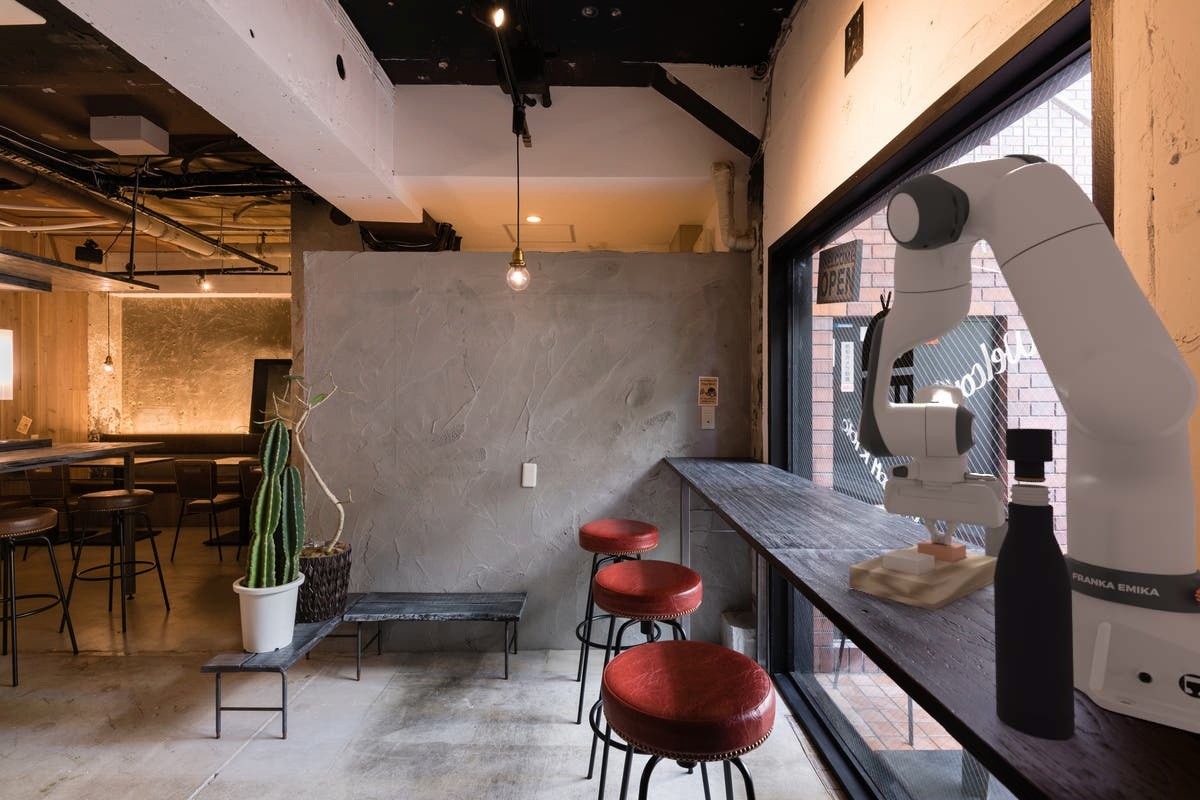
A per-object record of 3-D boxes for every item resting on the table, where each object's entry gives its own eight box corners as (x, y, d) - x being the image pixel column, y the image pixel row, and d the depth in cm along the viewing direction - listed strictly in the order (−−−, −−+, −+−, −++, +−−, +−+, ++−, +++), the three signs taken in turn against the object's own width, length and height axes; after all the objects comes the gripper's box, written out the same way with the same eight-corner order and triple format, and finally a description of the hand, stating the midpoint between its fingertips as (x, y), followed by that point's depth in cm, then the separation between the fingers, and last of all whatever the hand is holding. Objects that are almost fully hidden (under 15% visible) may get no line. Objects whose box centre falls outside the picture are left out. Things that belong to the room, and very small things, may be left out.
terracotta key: (966, 566, 108) (965, 544, 108) (952, 571, 105) (951, 549, 105) (932, 559, 113) (932, 539, 113) (917, 564, 109) (917, 543, 109)
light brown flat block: (999, 579, 107) (998, 557, 107) (933, 610, 91) (932, 585, 91) (920, 563, 118) (920, 544, 119) (849, 588, 102) (849, 566, 102)
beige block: (934, 578, 100) (934, 555, 100) (918, 585, 97) (917, 561, 97) (899, 571, 105) (899, 549, 105) (883, 577, 102) (882, 554, 102)
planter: (979, 569, 114) (978, 517, 114) (996, 567, 115) (995, 515, 115) (1001, 575, 110) (1000, 521, 110) (1019, 573, 111) (1018, 520, 111)
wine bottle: (1066, 748, 54) (1059, 430, 55) (987, 720, 59) (982, 429, 60) (1082, 724, 58) (1075, 428, 59) (1007, 699, 63) (1002, 427, 64)
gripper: (1010, 474, 103) (1011, 552, 102) (894, 465, 119) (895, 532, 119) (996, 477, 99) (998, 557, 99) (879, 467, 115) (880, 537, 115)
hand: (941, 544), depth 109 cm, fingers closed, pressing on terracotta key
